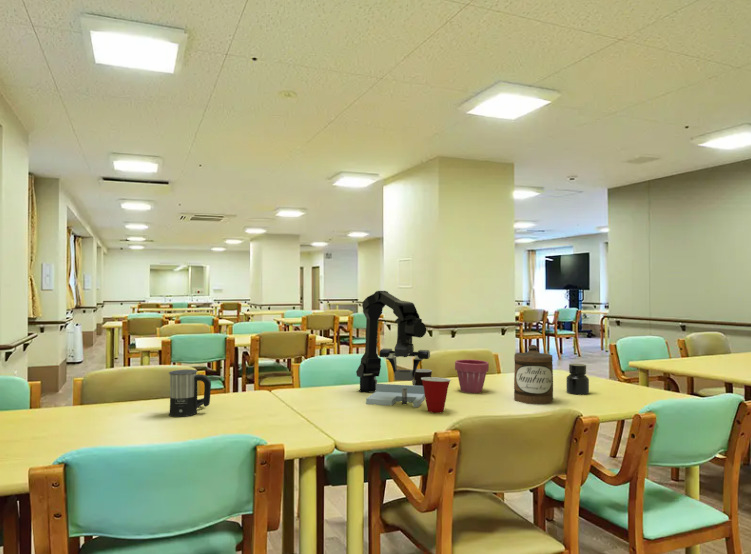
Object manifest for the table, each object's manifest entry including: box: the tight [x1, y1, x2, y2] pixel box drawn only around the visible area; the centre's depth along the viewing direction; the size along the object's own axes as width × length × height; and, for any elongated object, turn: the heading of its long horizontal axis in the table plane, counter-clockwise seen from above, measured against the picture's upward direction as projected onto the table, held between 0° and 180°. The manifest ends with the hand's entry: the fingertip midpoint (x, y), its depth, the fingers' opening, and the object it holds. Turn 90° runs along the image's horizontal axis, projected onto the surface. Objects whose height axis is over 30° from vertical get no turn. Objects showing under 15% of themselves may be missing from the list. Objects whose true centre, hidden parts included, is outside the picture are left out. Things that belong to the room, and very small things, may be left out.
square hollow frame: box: [394, 368, 414, 382], centre depth 203 cm, size 6×6×3 cm
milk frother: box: [168, 369, 212, 418], centre depth 188 cm, size 14×16×15 cm
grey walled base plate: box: [365, 383, 425, 408], centre depth 207 cm, size 20×16×5 cm
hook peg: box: [401, 388, 408, 405], centre depth 202 cm, size 2×2×6 cm
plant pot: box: [454, 359, 490, 394], centre depth 229 cm, size 14×14×13 cm
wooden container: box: [513, 344, 554, 405], centre depth 211 cm, size 15×15×22 cm
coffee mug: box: [411, 368, 433, 386], centre depth 222 cm, size 12×9×10 cm
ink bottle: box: [566, 363, 590, 396], centre depth 227 cm, size 10×9×12 cm
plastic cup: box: [421, 376, 452, 414], centre depth 192 cm, size 11×11×12 cm
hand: (404, 376), depth 203 cm, fingers closed on square hollow frame, 6 cm apart
